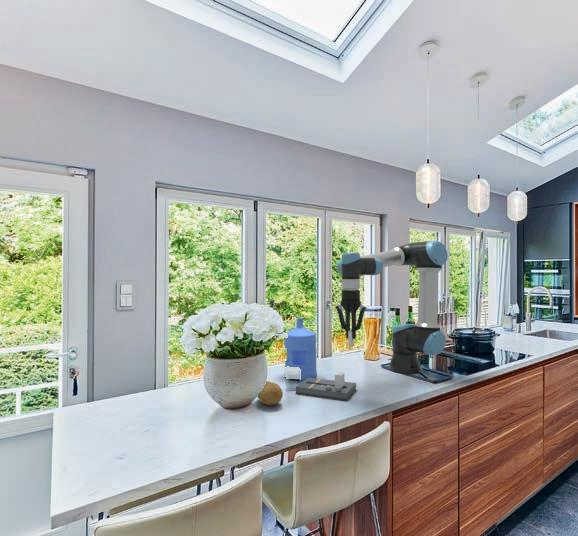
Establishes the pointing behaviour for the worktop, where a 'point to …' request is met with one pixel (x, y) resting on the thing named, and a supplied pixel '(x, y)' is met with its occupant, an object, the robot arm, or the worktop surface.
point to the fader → (339, 379)
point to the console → (325, 389)
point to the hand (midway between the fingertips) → (351, 346)
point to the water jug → (301, 350)
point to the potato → (270, 393)
